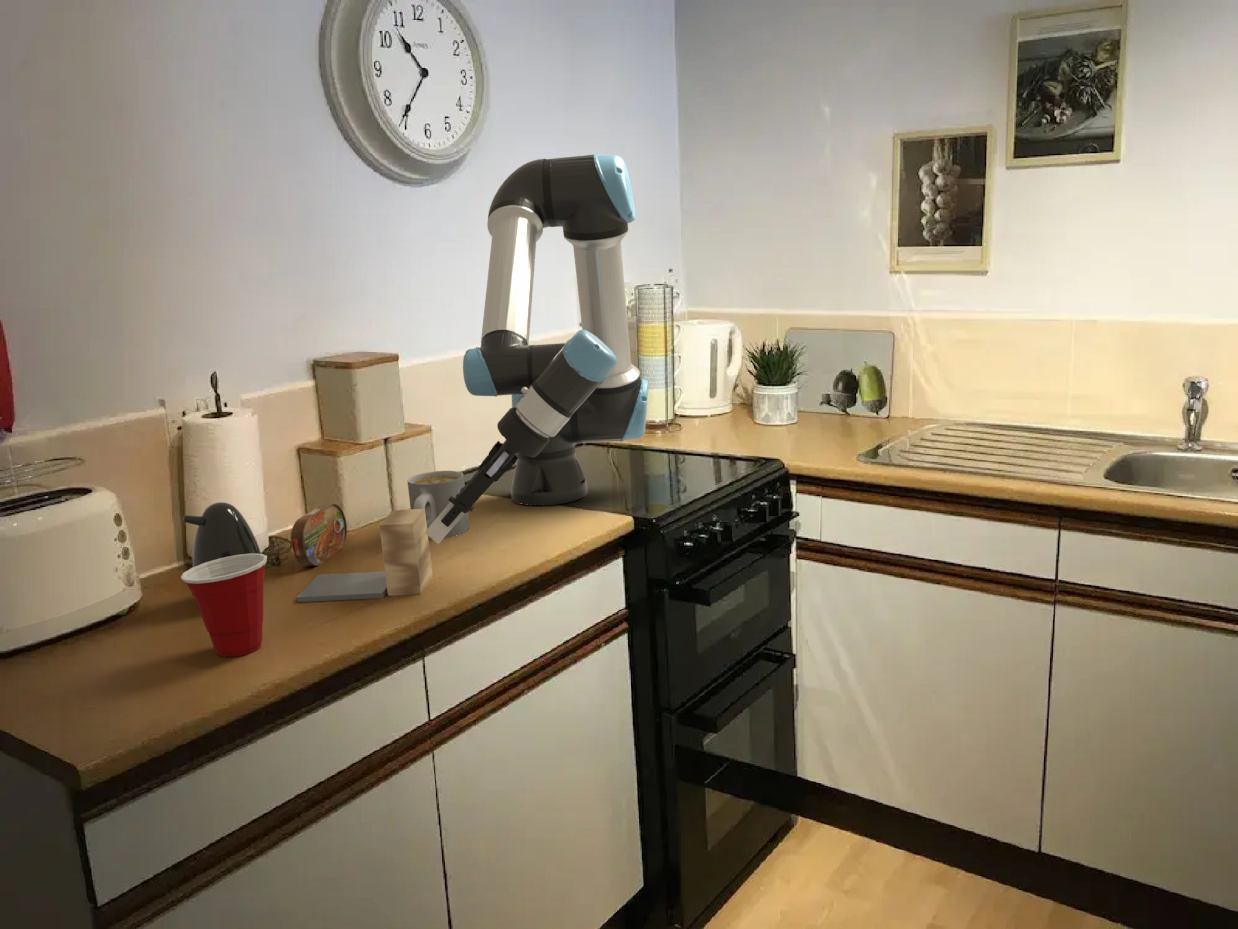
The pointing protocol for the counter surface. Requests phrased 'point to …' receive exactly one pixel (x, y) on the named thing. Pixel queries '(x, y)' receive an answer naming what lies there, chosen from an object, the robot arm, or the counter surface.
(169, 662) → the counter surface
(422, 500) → the coffee mug
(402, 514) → the oak block
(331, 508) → the tin
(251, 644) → the plastic cup
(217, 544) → the pump dispenser
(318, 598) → the plate
